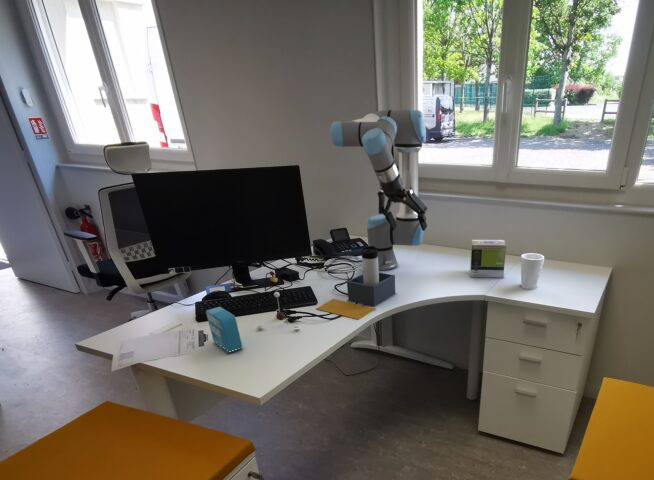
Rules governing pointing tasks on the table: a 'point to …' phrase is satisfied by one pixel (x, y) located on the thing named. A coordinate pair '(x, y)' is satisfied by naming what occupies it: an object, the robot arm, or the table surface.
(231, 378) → the table surface
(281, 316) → the molecular model
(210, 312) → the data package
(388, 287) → the bin
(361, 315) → the desk mat
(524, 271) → the foam cup
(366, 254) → the travel mug
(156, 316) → the table surface
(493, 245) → the tea box
